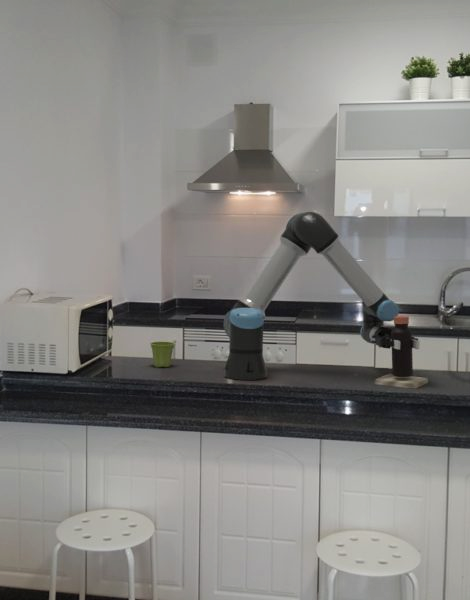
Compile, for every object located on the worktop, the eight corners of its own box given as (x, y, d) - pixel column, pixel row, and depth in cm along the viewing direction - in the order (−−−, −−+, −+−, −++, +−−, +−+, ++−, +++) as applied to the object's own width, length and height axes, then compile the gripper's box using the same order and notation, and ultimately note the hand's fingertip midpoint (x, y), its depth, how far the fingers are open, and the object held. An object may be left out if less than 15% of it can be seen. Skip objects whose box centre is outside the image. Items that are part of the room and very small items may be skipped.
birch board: (374, 384, 237) (374, 379, 237) (388, 378, 249) (388, 373, 249) (416, 388, 230) (416, 384, 230) (428, 382, 242) (428, 378, 242)
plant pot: (179, 365, 267) (180, 343, 266) (164, 369, 259) (164, 345, 258) (160, 363, 272) (160, 340, 271) (144, 366, 264) (144, 343, 263)
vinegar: (390, 377, 238) (389, 318, 236) (393, 373, 244) (392, 315, 242) (411, 377, 235) (410, 318, 233) (413, 373, 242) (412, 315, 240)
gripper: (407, 346, 258) (435, 356, 236) (357, 347, 255) (381, 356, 233) (408, 326, 258) (436, 333, 235) (358, 326, 255) (381, 334, 232)
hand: (408, 345), depth 234 cm, fingers closed on vinegar, 6 cm apart
